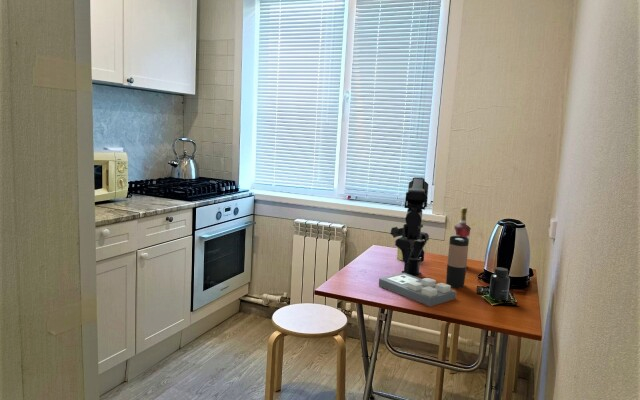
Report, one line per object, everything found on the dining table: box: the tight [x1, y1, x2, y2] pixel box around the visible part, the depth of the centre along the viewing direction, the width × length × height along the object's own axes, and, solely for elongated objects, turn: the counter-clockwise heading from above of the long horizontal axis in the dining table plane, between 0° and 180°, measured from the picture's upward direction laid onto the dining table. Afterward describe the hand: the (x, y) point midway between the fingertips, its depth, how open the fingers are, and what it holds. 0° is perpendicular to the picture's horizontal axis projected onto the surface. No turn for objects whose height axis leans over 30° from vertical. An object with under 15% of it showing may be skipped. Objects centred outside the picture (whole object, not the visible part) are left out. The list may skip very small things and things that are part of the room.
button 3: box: [421, 286, 437, 297], centre depth 173 cm, size 4×4×3 cm
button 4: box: [435, 282, 452, 293], centre depth 178 cm, size 4×4×3 cm
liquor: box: [453, 207, 471, 240], centre depth 219 cm, size 7×7×28 cm
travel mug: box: [445, 235, 470, 289], centre depth 192 cm, size 8×8×20 cm
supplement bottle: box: [488, 266, 511, 301], centre depth 179 cm, size 7×7×12 cm
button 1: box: [407, 281, 423, 291], centre depth 178 cm, size 4×4×3 cm
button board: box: [378, 272, 457, 307], centre depth 183 cm, size 15×26×3 cm, turn 38°
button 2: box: [420, 277, 437, 287], centre depth 183 cm, size 4×4×3 cm
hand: (410, 260), depth 184 cm, fingers open, 9 cm apart
